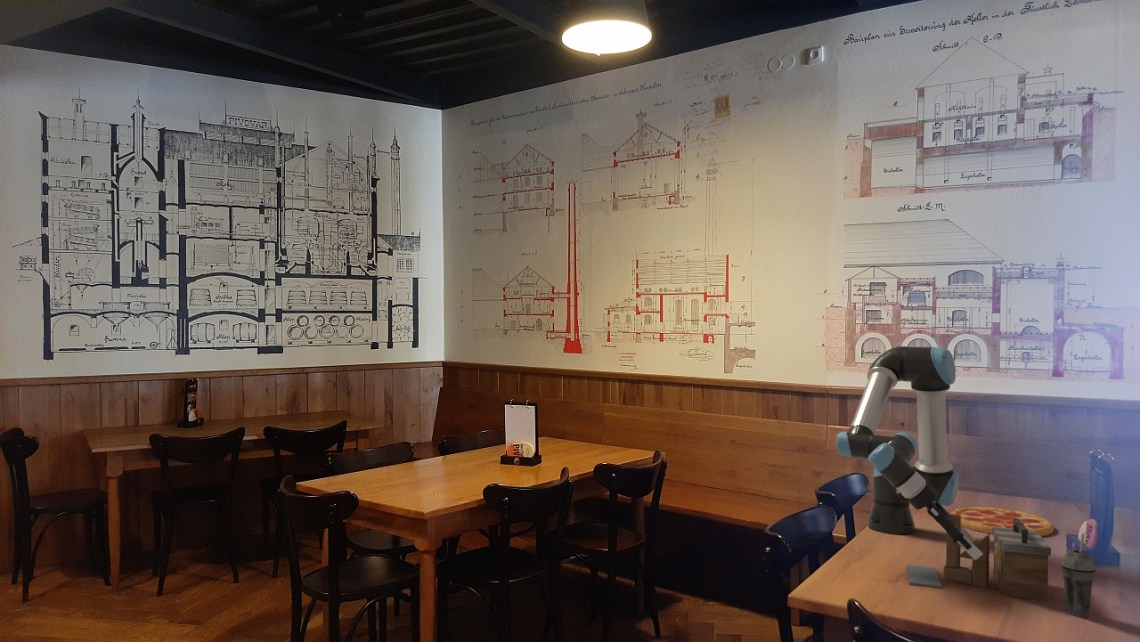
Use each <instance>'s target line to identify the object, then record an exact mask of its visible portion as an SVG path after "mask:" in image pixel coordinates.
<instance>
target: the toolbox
mask: <svg viewBox="0 0 1140 642" xmlns="http://www.w3.org/2000/svg"><path fill="white" fill-rule="evenodd" d="M991 535H992V537H993V578H994V580H995V582H996V583H997V584H996V585H998V587H999V589H1000V592H1001V593H1002V594H1003V596H1004V597H1010V598H1011V597H1012V598H1019V599H1027V600H1037V601H1047V602H1048V600H1049V599H1048V594H1049V591H1048V590H1049V583H1048V582H1049V556H1052V548H1051V546H1050V545H1049V544H1048V542H1047V541H1045V539H1044V538H1043V536H1042V537H1041V536H1040V535H1039V534H1038V532H1037V531H1031V530H1028V529H1027V528H1026V527H1025V526H1024V524H1023V523H1022V522H1021V521H1020V520H1019V519H1018V518H1013V529H1010V528H999V527H992V534H991Z"/></svg>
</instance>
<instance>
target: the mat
mask: <svg viewBox="0 0 1140 642" xmlns="http://www.w3.org/2000/svg"><path fill="white" fill-rule="evenodd" d="M905 571H906V575H907V579H908V584H909V585H911V586H912V585H913V586H920V587H926V588H938V589H942V587H943V586H942V583H941V580H940V577H939V574H938V571H937V568H935V567H929V566H921V565H912V564H905Z"/></svg>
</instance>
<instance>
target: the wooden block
mask: <svg viewBox="0 0 1140 642" xmlns="http://www.w3.org/2000/svg"><path fill="white" fill-rule="evenodd" d="M948 518H949V519H950V521H951V522H952V523H953V524H954V525H955V526H956V527H957V528H958V530H959V531H960V532H961V517H960V516H959V515H955V514H951V513H949V515H948ZM957 534H958V533H957ZM957 534H956V535H957ZM990 535H991V534H988V533H987V535H985V536H984V537H982V538H981V539H980V540H978V541H977V542H975V543H973V544H974V545H975V546H976V547H977V548H978V549H979V550H980V551H981V552H982V553H983V555H982V556H980V557H979V558H978V559H976V560H974V559H973V558H972V557H971V556H970V555H969V554H968V553H967V552H966V551H965V550H964V551H961V548H962V547H961V546H960V545H959V544H958V543H957V542H956V543H954V542H953V541H952V540H953V538H952V537H951V536H950V535H949V534H948V533H947V532H946V545H945V548H946V549H945V551H946V552H945V565H944V567H943V579H944V580H948V581H953V582H958V583H960V584H961V583H962V584H967V585H972V586H974V587H979V588H983V589H986V588H987V587H988V586H989V585H990V539H991V537H990ZM961 552H962V553H961ZM961 558H964V559H969V560H972V561H971V569H970V567H965V566H961Z"/></svg>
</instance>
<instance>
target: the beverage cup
mask: <svg viewBox="0 0 1140 642" xmlns="http://www.w3.org/2000/svg"><path fill="white" fill-rule="evenodd" d="M1084 539H1085V533H1081V539H1080V545H1079V550H1071V551H1068V552H1066V553H1065V554H1064V556H1063V557H1062V559H1061V564H1060V566H1061V572H1062V575H1063V576H1062V577H1063V587H1064V588H1063V589H1064V599H1065V607H1066V613H1067V614H1069V615H1071V616H1074V617H1078V618H1086V617H1089V611H1090V607H1091V599H1092V590H1093V581H1094V577H1095V574H1096V573H1095V572H1096V566H1095V563H1094V561H1093V559H1092V558H1091V557H1090V556H1089V555H1088V553H1086V552H1084V551H1083V549H1084V548H1083V547H1084Z"/></svg>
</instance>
